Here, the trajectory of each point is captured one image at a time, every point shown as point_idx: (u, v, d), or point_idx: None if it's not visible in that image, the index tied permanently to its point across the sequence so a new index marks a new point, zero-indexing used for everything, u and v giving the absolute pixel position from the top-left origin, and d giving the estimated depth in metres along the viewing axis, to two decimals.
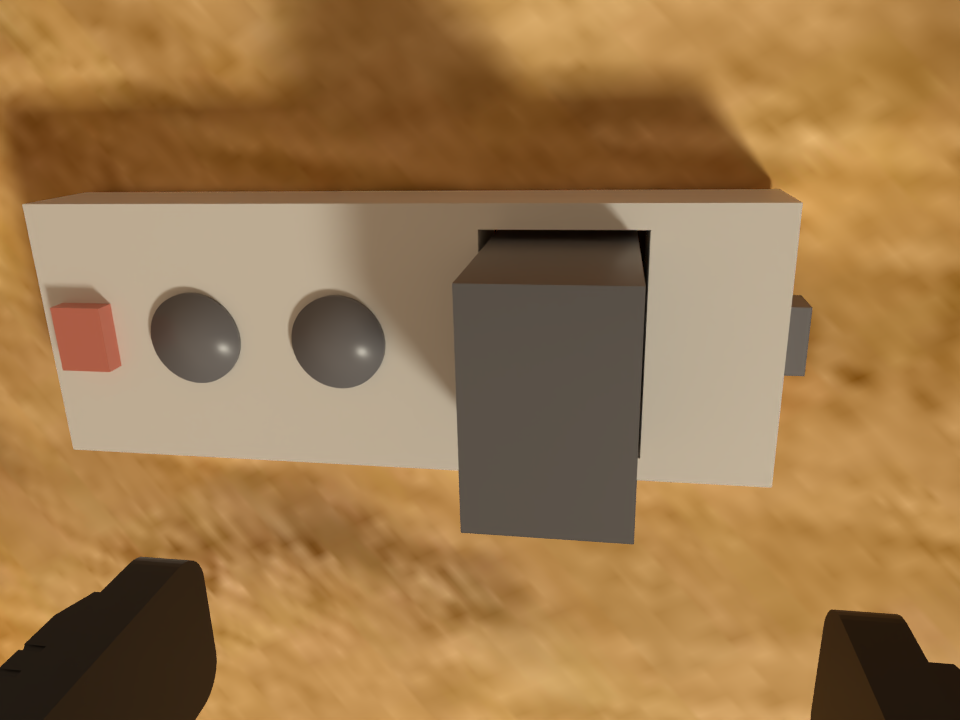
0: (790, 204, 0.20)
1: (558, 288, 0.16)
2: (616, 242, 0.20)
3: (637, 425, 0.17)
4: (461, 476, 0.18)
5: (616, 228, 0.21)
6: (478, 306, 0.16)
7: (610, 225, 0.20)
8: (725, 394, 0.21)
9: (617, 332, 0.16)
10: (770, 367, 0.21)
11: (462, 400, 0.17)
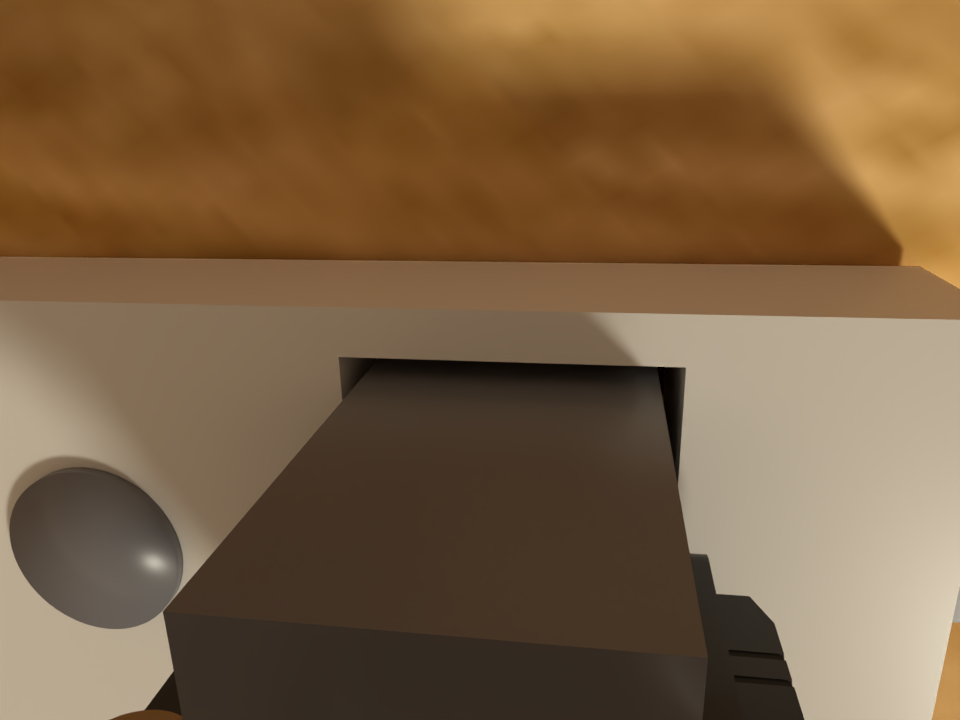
0: None
1: (453, 645, 0.06)
2: (615, 390, 0.10)
3: None
4: None
5: (615, 362, 0.10)
6: (240, 671, 0.06)
7: (602, 356, 0.10)
8: (826, 673, 0.11)
9: None
10: (920, 631, 0.11)
11: None
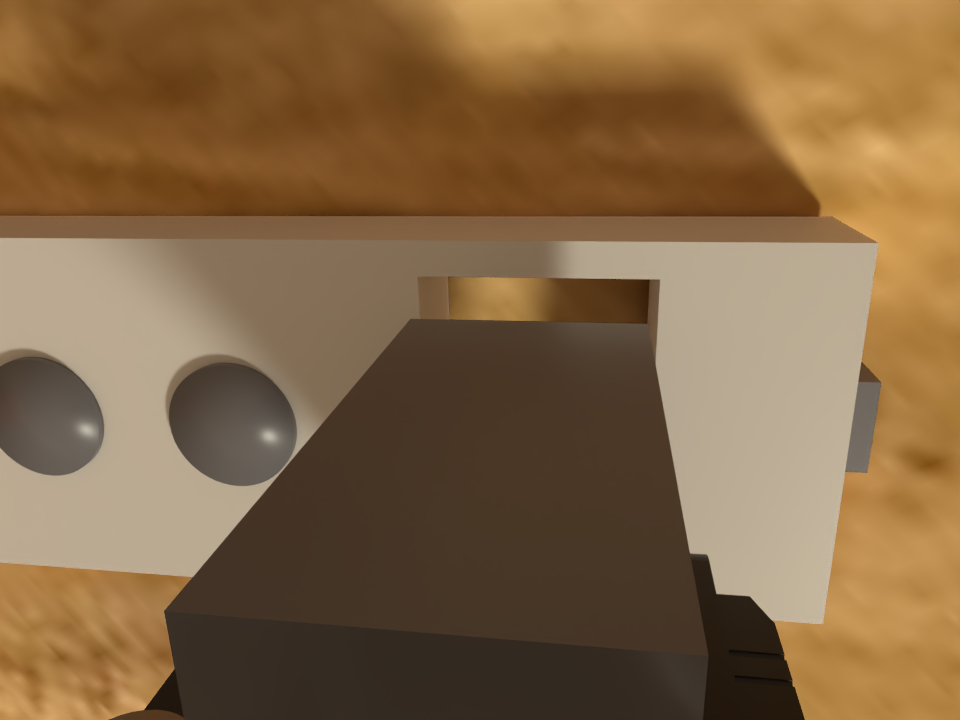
0: (860, 245, 0.14)
1: (456, 644, 0.06)
2: (614, 389, 0.10)
3: None
4: None
5: (611, 276, 0.15)
6: (241, 671, 0.06)
7: (603, 272, 0.15)
8: (761, 502, 0.16)
9: None
10: (825, 468, 0.15)
11: None
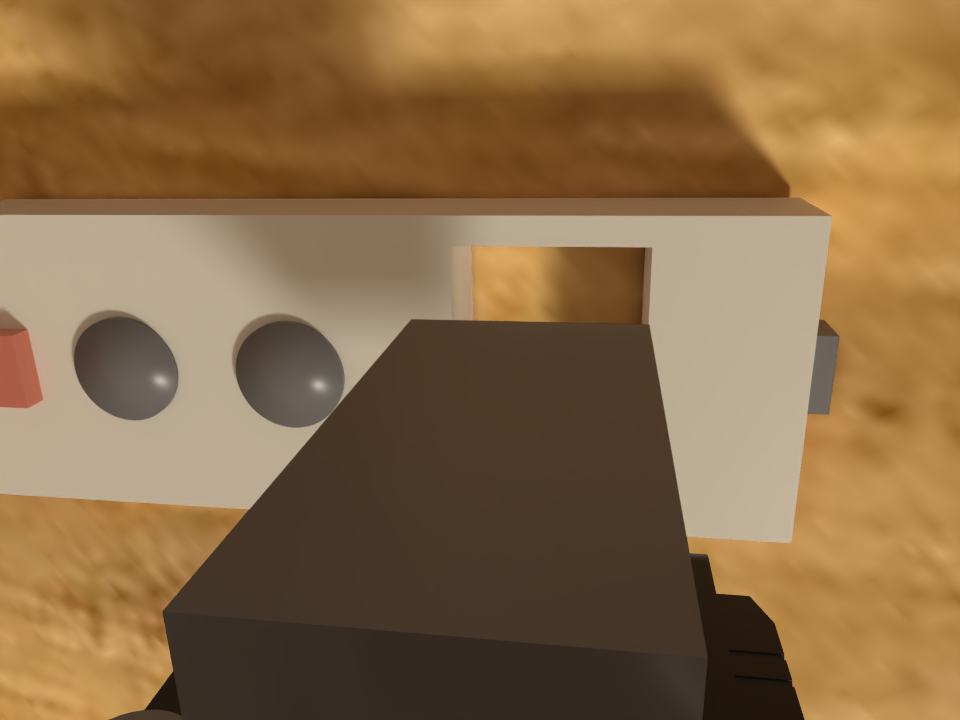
0: (817, 218, 0.17)
1: (454, 646, 0.06)
2: (615, 390, 0.10)
3: None
4: None
5: (612, 245, 0.17)
6: (240, 671, 0.06)
7: (604, 241, 0.17)
8: (738, 437, 0.18)
9: None
10: (791, 407, 0.18)
11: None
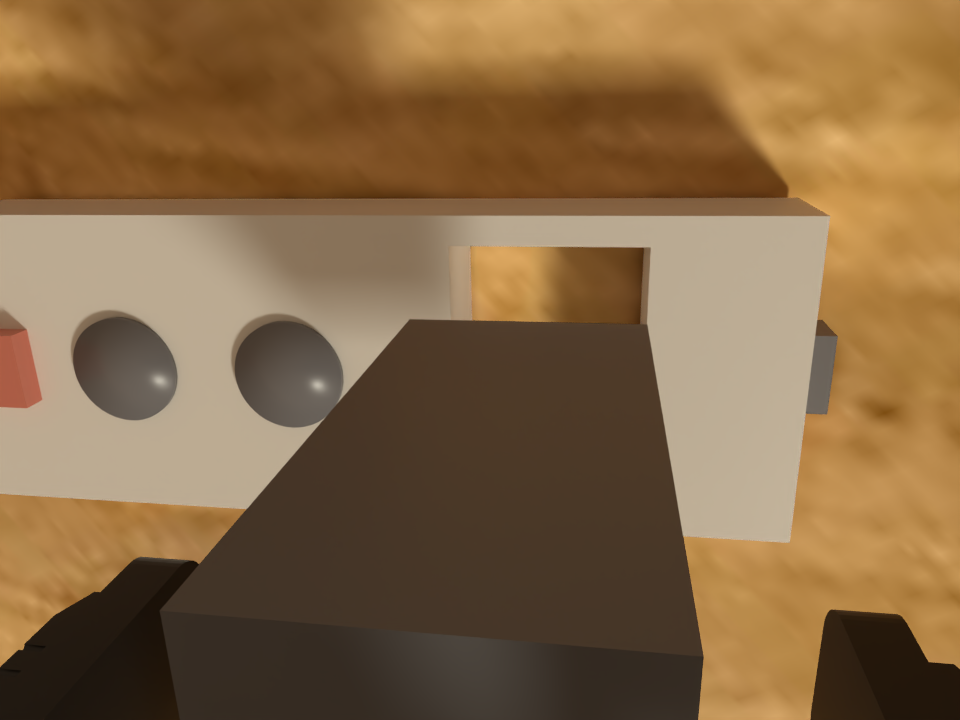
0: (815, 218, 0.17)
1: (450, 644, 0.06)
2: (612, 390, 0.10)
3: None
4: None
5: (610, 245, 0.17)
6: (236, 671, 0.06)
7: (603, 242, 0.17)
8: (736, 437, 0.18)
9: None
10: (789, 406, 0.18)
11: None
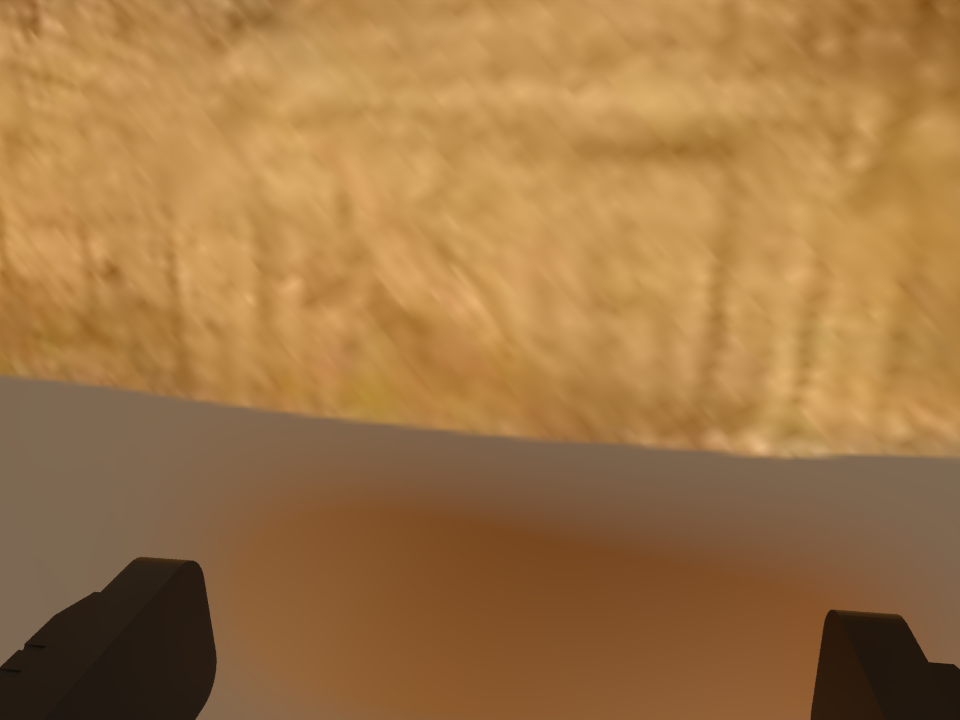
0: None
1: None
2: None
3: None
4: None
5: None
6: None
7: None
8: None
9: None
10: None
11: None
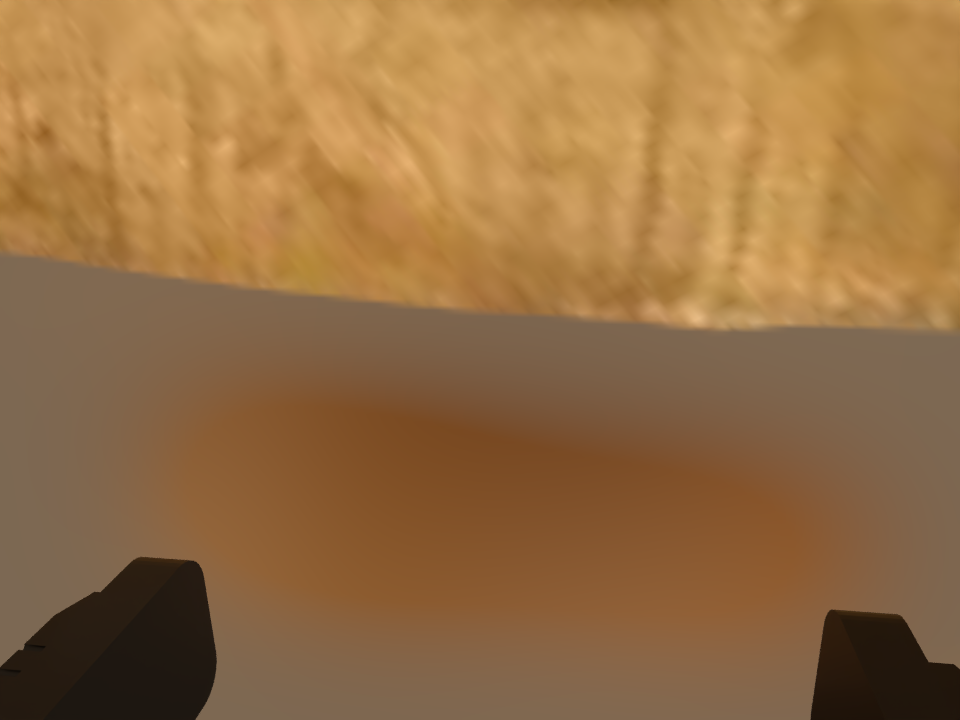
0: None
1: None
2: None
3: None
4: None
5: None
6: None
7: None
8: None
9: None
10: None
11: None
